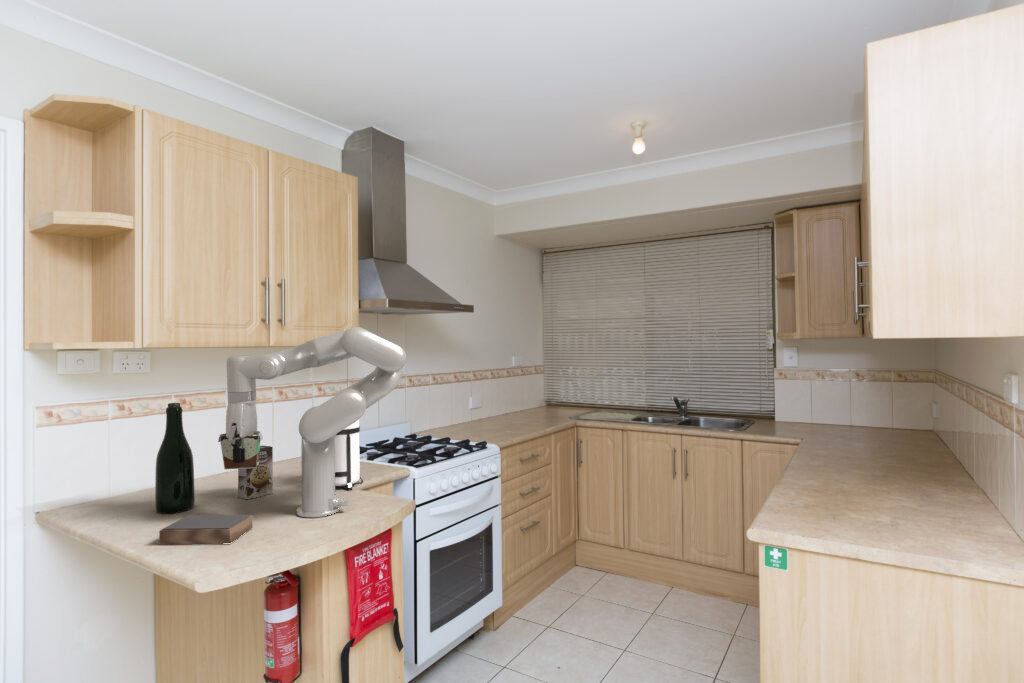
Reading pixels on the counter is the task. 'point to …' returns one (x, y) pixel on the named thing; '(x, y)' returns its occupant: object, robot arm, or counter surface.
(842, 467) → the counter surface
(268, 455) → the coffee box
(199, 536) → the plinth
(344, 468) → the coffee press
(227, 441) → the food container
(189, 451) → the beer bottle
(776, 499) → the counter surface
